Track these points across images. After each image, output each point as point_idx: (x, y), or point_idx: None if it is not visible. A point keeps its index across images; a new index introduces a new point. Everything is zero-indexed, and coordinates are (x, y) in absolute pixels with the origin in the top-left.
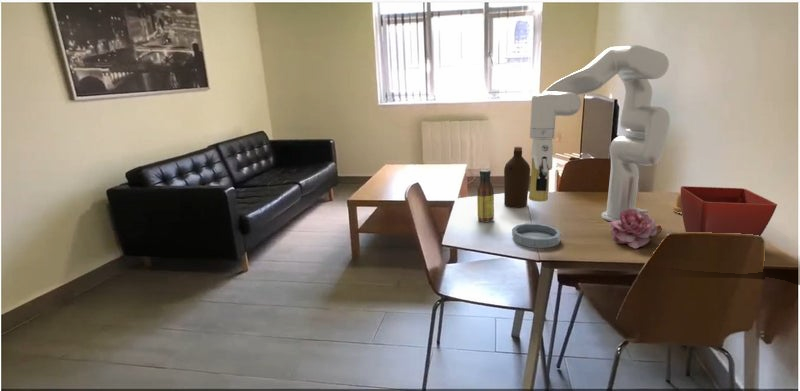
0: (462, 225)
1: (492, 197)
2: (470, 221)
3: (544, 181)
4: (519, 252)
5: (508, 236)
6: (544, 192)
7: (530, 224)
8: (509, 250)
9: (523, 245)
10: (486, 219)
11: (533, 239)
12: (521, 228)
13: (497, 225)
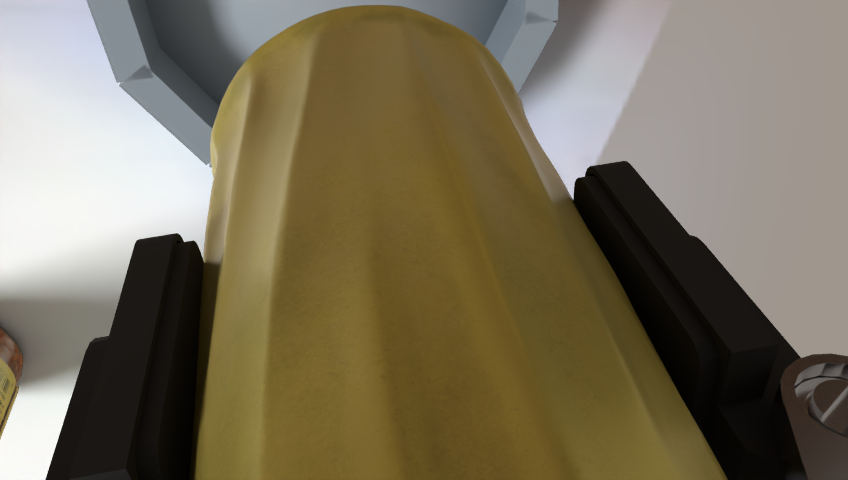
0: None
1: None
2: (40, 426)
3: (785, 346)
4: (609, 108)
5: None
6: (536, 151)
7: (137, 37)
8: (572, 169)
9: None
10: (12, 360)
11: (551, 32)
12: (207, 110)
13: (55, 267)
